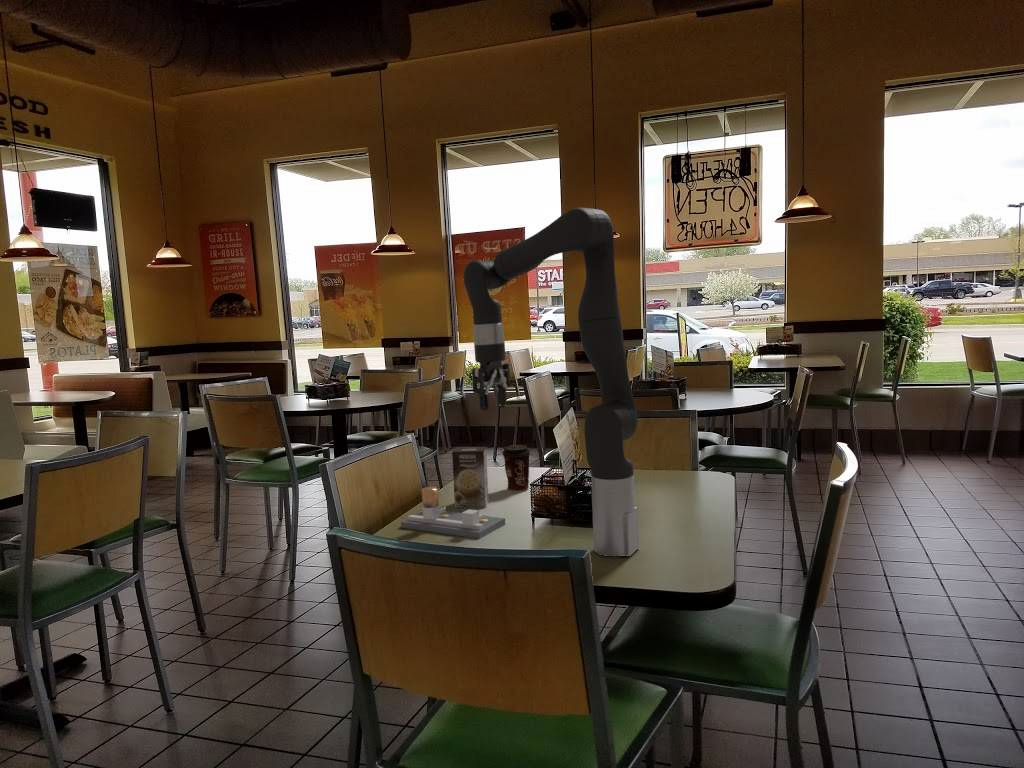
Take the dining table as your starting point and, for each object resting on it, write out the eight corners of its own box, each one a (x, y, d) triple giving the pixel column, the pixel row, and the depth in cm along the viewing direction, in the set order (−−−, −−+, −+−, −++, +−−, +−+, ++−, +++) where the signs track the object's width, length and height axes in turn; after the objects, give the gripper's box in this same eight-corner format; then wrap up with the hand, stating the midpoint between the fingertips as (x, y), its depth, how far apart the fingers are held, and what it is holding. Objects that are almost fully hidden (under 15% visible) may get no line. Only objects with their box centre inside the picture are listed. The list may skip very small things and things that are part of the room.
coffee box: (453, 508, 201) (450, 451, 199) (457, 502, 207) (454, 446, 205) (486, 507, 200) (483, 450, 198) (489, 501, 206) (486, 445, 205)
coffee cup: (499, 488, 220) (497, 446, 219) (523, 484, 224) (521, 442, 222) (511, 494, 212) (509, 451, 211) (536, 490, 216) (534, 447, 214)
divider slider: (451, 513, 188) (449, 483, 187) (433, 521, 181) (431, 491, 180) (438, 511, 190) (436, 482, 189) (420, 520, 183) (418, 490, 182)
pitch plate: (505, 524, 184) (504, 503, 184) (479, 538, 174) (478, 516, 173) (429, 514, 196) (427, 494, 196) (401, 527, 186) (399, 506, 185)
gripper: (487, 343, 171) (492, 412, 172) (516, 339, 183) (521, 403, 185) (460, 345, 174) (465, 411, 176) (491, 341, 187) (495, 403, 188)
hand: (494, 407), depth 180 cm, fingers open, 8 cm apart
